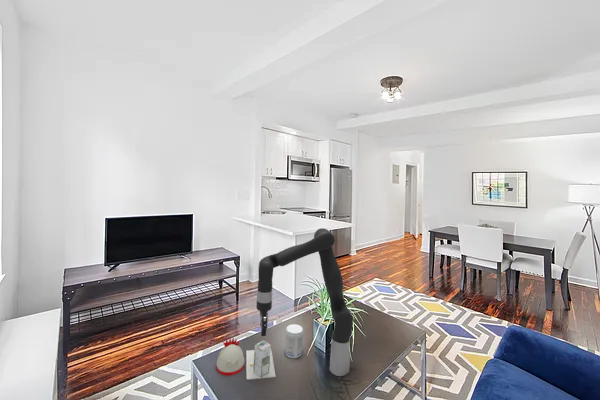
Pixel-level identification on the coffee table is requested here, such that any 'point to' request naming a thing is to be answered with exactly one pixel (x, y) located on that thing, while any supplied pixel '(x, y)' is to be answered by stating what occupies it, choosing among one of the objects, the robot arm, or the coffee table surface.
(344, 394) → the coffee table surface
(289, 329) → the supplement tub
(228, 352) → the kitchen timer
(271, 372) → the white rectangular board
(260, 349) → the syrup box
